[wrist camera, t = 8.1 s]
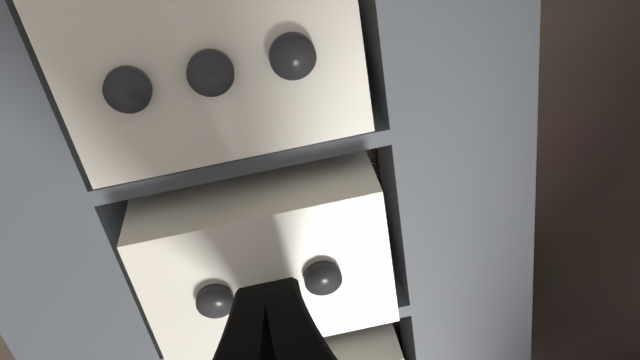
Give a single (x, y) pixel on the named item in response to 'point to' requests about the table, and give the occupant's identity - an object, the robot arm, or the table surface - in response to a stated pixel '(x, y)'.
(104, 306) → the keypad board
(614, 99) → the table surface
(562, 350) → the table surface
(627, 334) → the table surface
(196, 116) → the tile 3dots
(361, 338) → the tile
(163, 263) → the tile
